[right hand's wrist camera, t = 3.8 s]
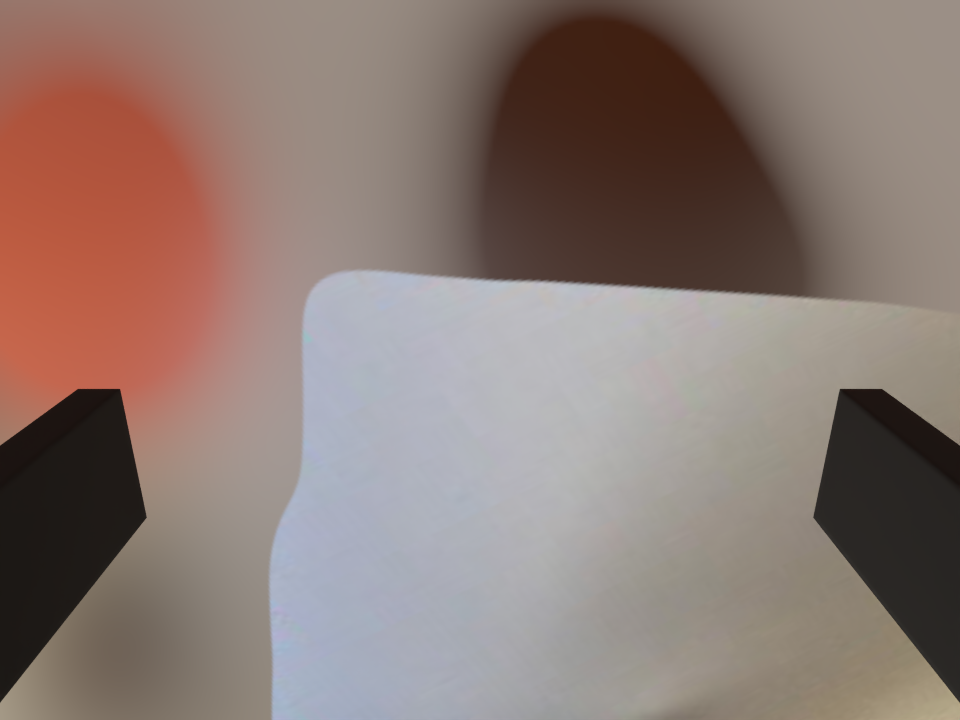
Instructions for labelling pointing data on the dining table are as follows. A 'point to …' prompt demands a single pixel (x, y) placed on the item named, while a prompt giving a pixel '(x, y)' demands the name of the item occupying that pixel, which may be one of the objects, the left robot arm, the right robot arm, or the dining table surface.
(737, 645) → the dining table surface
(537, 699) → the dining table surface
